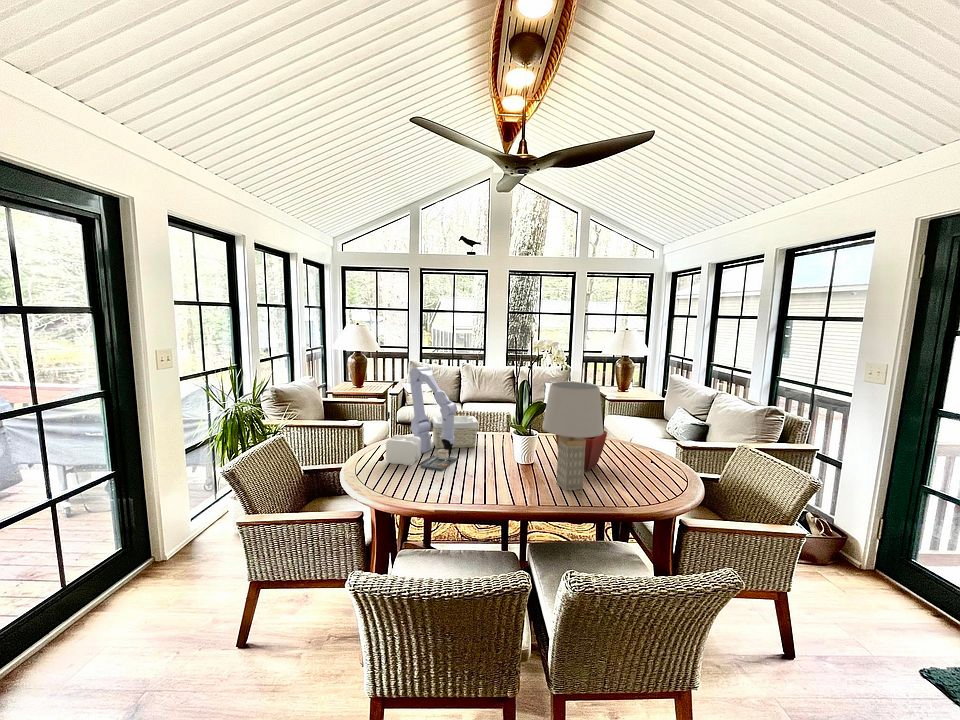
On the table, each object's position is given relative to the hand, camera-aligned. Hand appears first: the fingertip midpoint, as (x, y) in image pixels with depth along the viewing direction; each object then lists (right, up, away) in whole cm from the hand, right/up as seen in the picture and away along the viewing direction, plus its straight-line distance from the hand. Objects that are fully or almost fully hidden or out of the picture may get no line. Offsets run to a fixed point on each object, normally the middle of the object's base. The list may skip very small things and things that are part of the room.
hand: (447, 454), depth 216 cm
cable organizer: (-21, -3, -6) cm, 22 cm away
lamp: (+54, -7, -31) cm, 63 cm away
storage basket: (+2, 0, +23) cm, 23 cm away
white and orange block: (-2, -1, -4) cm, 5 cm away
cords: (-9, -2, -4) cm, 11 cm away
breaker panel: (-3, -3, -8) cm, 9 cm away
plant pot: (+65, -5, -4) cm, 65 cm away
